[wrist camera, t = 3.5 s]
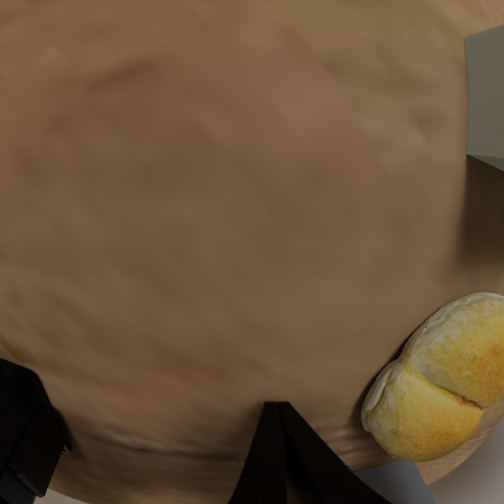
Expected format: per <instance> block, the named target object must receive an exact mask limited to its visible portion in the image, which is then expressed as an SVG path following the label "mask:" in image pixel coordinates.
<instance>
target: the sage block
mask: <svg viewBox="0 0 504 504" xmlns="http://www.w3.org/2000/svg"><path fill="white" fill-rule="evenodd" d="M464 43H465V51H466V62H467V75H468V139H467V153H466V154H467V155H470V156H472V157H474V158H477V159H479V160H481V161H483V162H485V163H487V164H490V165H492V166H494V167H496V168H498V169H500V170H502V171H504V25H502V26H498V27H495V28H492V29H489V30H485V31H482V32H479V33H476V34H473V35H470V36H467V37H465V38H464Z"/></svg>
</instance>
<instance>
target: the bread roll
mask: <svg viewBox="0 0 504 504" xmlns="http://www.w3.org/2000/svg"><path fill="white" fill-rule="evenodd" d="M503 397H504V297H503V296H501V295H499V294H497V293H489V292H479V293H473V294H470V295H468V296H465V297H462V298H459V299H457V300H455V301H452V302H450V303H448V304H446V305H444V306H443V307H441V308H440V309H439V310H438V311H436V312H435V313H434V314H433V315H431V316H430V317H429V318H428V319H427V320H426V321H425V322H424V323H423V324H422V325H421V326H420V327H419V328H418V329H417V330H416V331H415V332H414V333H413V334H412V336H411V337H410V338H409V340H408V341H407V342H406V344H405V346H404V348H403V351H402V353H401V355H400V357H399V358H398V359H397V360H395V361H393V362H391V363H389V364H388V365H387V366H386V367H385V368H384V369H383V370H382V371H381V373H380V374H379V375H378V377H377V378H376V380H375V382H374V384H373V385H372V387H371V389H370V390H369V392H368V393H367V396H366V398H365V401H364V403H363V406H362V409H361V421H362V424H363V428H364V430H365V431H368V432H371V434H372V435H373V437H374V438H375V440H376V441H377V443H378V444H379V445H380V446H381V447H382V448H383V449H384V450H385V451H386V452H387V453H389V454H390V455H391V456H392V457H393V458H400V459H403V460H406V461H412V462H425V461H430V460H434V459H438V458H441V457H443V456H445V455H447V454H449V453H451V452H453V451H455V450H456V449H458V448H459V447H460V446H462V445H463V444H464V443H465V442H466V441H467V440H468V439H469V438H470V436H471V435H472V434H473V433H474V431H475V429H476V427H477V425H478V423H479V420H480V418H481V416H482V414H483V411H484V408H487V407H489V406H491V405H493V404H495V403H496V402H498V401H499V400H501V399H502V398H503Z"/></svg>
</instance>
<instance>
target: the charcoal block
mask: <svg viewBox="0 0 504 504" xmlns="http://www.w3.org/2000/svg"><path fill="white" fill-rule="evenodd" d="M354 473H355V474H356V475H357V476H358V477H359V478H360V479H361V480H362V481H363V482H365V483H366V484H367V485H368V486H370V487H371V488H372V489H374V490H375V491H376V492H378V493H379V494H380V495H382V496H383V497H384V498H386V499H387V500H389V501H390V502H391V503H393V504H435V502H434V500H433V498H432V496H431V494H430V492H429V490H428V488H427V486H426V484H425V482H424V480H423V478H422V476H421V474H420V472H419V471H418V469H417V467H416V465H415V463H414V462H412V461H406V460H400V461H396V462H393V463H389V464H386V465H382V466H378V467H374V468H370V469H365V470H361V471H356V472H354Z"/></svg>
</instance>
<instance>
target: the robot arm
mask: <svg viewBox="0 0 504 504" xmlns="http://www.w3.org/2000/svg"><path fill="white" fill-rule="evenodd" d="M71 449H72V447H71V445H70V444H69V442H68V440H67V438H66V437H65V435H64V433H63V431H62V429H61V428H60V426H59V424H58V422H57V420H56V418H55V416H54V414H53V412H52V410H51V408H50V406H49V404H48V402H47V400H46V398H45V396H44V393H43V391H42V389H41V387H40V384H39V382H38V379H37V378H36V376H35V375H34V373H33V372H32V371H30V370H29V369H27V368H25V367H22V366H19V365H16V364H14V363H11V362H8V361H6V360H3V359H1V358H0V504H34V501H35V498H36V496H38V497H40V498H41V497H43V496H45V494H46V491H47V488H48V486H49V483H50V480H51V478H52V475H53V473H54V470H55V467H56V465H57V463H58V460H59V458H60V455H61V453H65V454H70V452H71ZM228 504H393V503H391V502H390V501H389V500H387V499H386V498H384V497H383V496H382V495H380V494H379V493H378V492H376V491H375V490H374V489H372V488H371V487H370V486H368V485H367V484H366V483H365V482H363V481H362V480H361V479H360V478H359V477H358V476H357V475H356V474H355V473H354V472H353V471H352V470H351V469H350V468H349V467H348V466H347V465H344V462H343V461H342V460H341V459H340V458H339V457H338V456H337V455H336V454H335V453H334V452H333V451H332V450H331V449H330V447H329V446H328V445H327V444H326V443H325V442H324V441H323V440H322V439H321V438H320V437H319V435H318V434H317V433H316V432H315V431H314V430H313V429H312V428H311V427H310V425H309V424H308V423H307V422H306V421H305V420H304V419H303V418H302V416H301V415H300V414H299V413H298V412H297V411H296V410H295V408H294V407H293V406H292V405H291V404H290V403H289V402H288V401H280V402H277V403H276V402H265V403H264V405H263V408H262V411H261V415H260V418H259V421H258V424H257V427H256V430H255V434H254V437H253V440H252V443H251V446H250V449H249V452H248V455H247V458H246V461H245V463H244V466H243V469H242V472H241V475H240V477H239V480H238V483H237V485H236V488H235V490H234V492H233V495H232V496H231V498H230V500H229V502H228Z"/></svg>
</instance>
